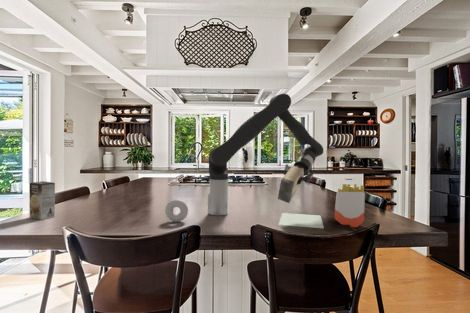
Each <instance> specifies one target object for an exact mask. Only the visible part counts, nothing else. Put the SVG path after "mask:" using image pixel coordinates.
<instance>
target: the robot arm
mask: <svg viewBox="0 0 470 313" xmlns="http://www.w3.org/2000/svg"><path fill="white" fill-rule="evenodd" d="M291 104H292V99H291V96H290V95H289V94H287V93H284V92H283V93H277V94H276V95H274V96H273V97H271V99H270V100H269V104H268V105H267V106H265V107H264V108H263V109H261V110H260V111H258V112H256V113H255V114H253V115H252V116H250V117H249V118H248V119H247V120H245V121H244V122H243V123H242V124H241V125H240V126H239V127H238V128H237V129H236V130H235V132H234V133H233V134H232V135H231V137H230V138H229V139H227V140H226V141H224V143H223V142H222V144H220V145H219V146H215V147H213V148H212V149H211V150H210V151H209V154H208V173H209V174H208V175H209V190H208V191H209V194H207V215H212V216H225V215H228V213H229V212H228V210H229V208H228V207H229V172H228V162H230V160H231V159H232V158H233V157H234V156H235V154H237V152H239V151H240V150H241V149H243V148H244V147H245V146H247V144H249V143H250V142H251V141H253V140H254V139H255V138H256V137H257V136H258V135H259V134H260V133H261V132H263V131H264V130H265V128H266V127H268V126H269V124H271V123H272V122H273V121H274V120H275V119H276V118H279V119H280V121H282V123H283V124H284V125H285V126H286V127H287V128H288V130H289V131H290V132H291V134H292V135H293V137H294V138H295V140H296V141H297V142H298V144H300V145H301V146H305V145H308V146H306V147H305V148H304V149H302V154H301V156H299V157H298V158H297V160H296V161H295V162H294V164H293V165H291V166H289V164H285V166H284V171H283V176H285V175H286V173H287V172H288V171H289V170H290V168H291V167H292V166H295V167H298V168H302V169H303V172H302V175H301V177H300V178H299V179H298V181H297V185H299V184H300V185H301V184H302V183H303V182H304V183H308V182H309V181H310V180H312V179H313V178H314V173H313V172H309V171H310V170H311V169H312V166H313V164H314V163H315V161H316V158H317V157H319V156H322V155H323V153H324V147H323V145H322V144H321V143H320V142H318V141H317V140H316V139H315V138H314V137H312V136H311V134H310V133H309V131H308V130H307V129H306V127H305V126H304V125H303V124H302V123H301V122H300V121H299V120H297V119H296V118H295V117H294V116H293V114H291V112H290V111H289V109H290V107H291Z"/></svg>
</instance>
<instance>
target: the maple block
mask: <svg viewBox="0 0 470 313" xmlns="http://www.w3.org/2000/svg"><path fill="white" fill-rule="evenodd" d="M291 166H292V167H291ZM291 166H290V167H291V168H290V169H289V170H288V172H287V173H286V175H283V177H282V178H281V179H280V183H279V190H278V195H277V196H278V197H277V200H280V201H282V202H285V203H288V204H290V202H291V200H292V199H293V197H294V196H295V194H296V193H297V191H298V190H299V189H300V186H301V184H299V185H297V181H298V179H299V178H300V177H301V175H302V172H303V169H302V168H298V167H295V166H293V165H291Z"/></svg>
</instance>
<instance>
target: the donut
mask: <svg viewBox="0 0 470 313" xmlns="http://www.w3.org/2000/svg"><path fill="white" fill-rule="evenodd" d="M188 207H189V206H188V205H187V203H186V202H184V201H183V200H182V199H178V198H177V199H172V200H170V201H169V202H168V203H167V204H166V206H165V209H164V210H165V211H164V212H165V215H166V217H167V219H169V221H171V222H174V223H178V222H179V223H180V222H182V221H183V220H185V219H186V218H187V216H188V214H189V213H188V212H189V209H188ZM175 208H179V213H175V212H174V209H175Z"/></svg>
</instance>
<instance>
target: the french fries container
mask: <svg viewBox="0 0 470 313" xmlns="http://www.w3.org/2000/svg"><path fill="white" fill-rule="evenodd" d="M353 185H354V186H353V187H351V184H350V183H349V184H346V183H342V188H338V189H337V191H336V197H335V203H334V204H335V206H334V219H335V220H336V222H338V223H339V224H341V225H343V226H344V225H345V226H346V225H348V226H349V225H350V228H358V227H359V226H360V225H362V224H363V223H364V222H365V204H366V203H365V200H366V193H365V185H361V184H360V186H357V184H355V183H354V184H353Z"/></svg>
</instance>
